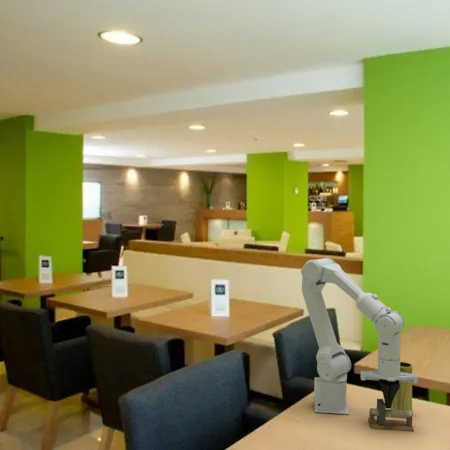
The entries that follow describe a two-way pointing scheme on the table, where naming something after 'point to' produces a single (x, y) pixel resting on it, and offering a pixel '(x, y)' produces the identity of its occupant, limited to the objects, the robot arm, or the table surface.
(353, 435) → the table surface
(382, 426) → the pipe stand
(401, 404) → the vase
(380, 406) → the dark grey square frame
